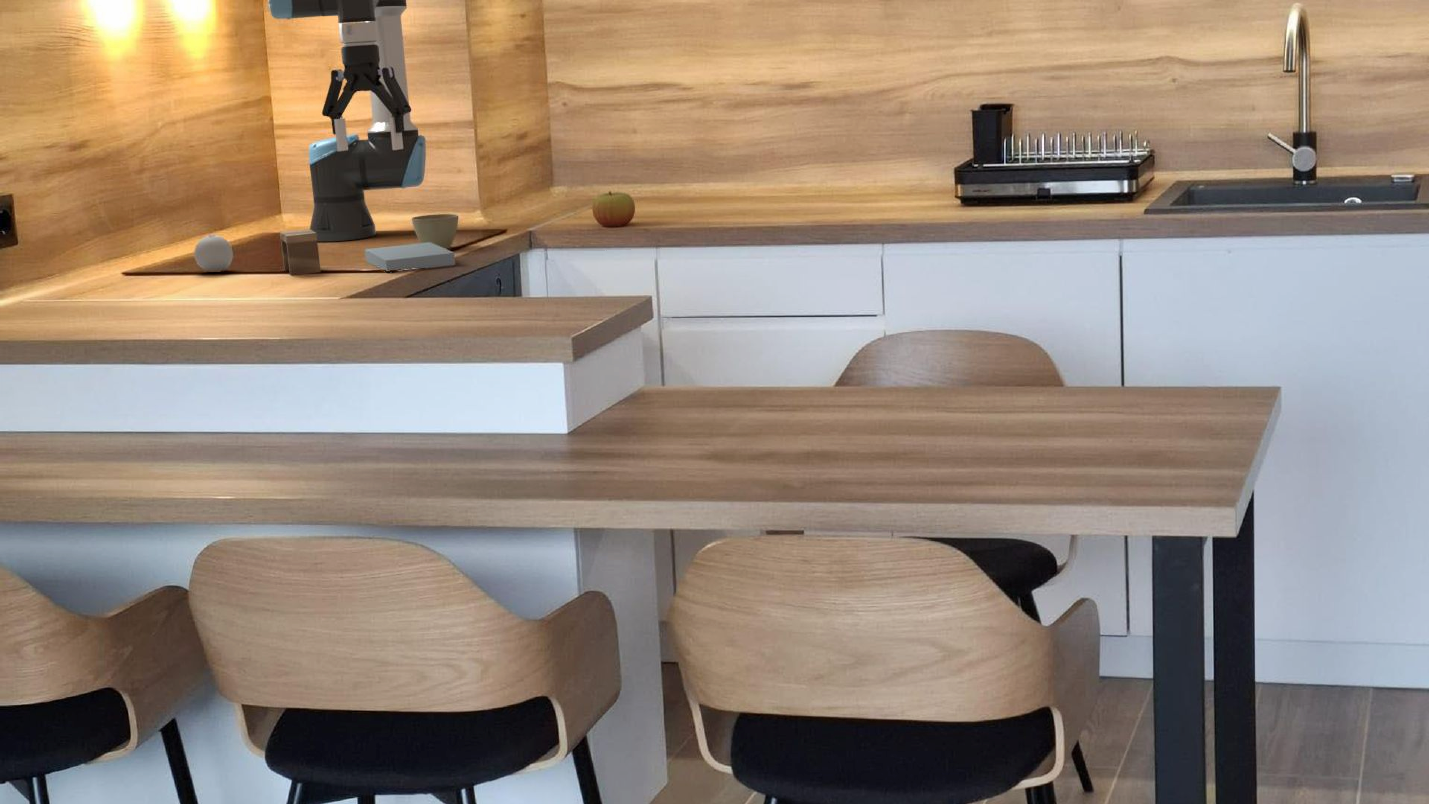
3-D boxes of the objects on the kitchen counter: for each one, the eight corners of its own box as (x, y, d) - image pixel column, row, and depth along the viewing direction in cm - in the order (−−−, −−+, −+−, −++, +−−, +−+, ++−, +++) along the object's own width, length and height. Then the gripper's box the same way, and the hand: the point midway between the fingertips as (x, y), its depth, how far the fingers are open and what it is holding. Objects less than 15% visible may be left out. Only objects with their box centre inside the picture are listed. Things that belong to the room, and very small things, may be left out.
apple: (586, 228, 396) (583, 193, 395) (604, 222, 405) (602, 188, 403) (625, 228, 393) (622, 193, 391) (643, 222, 401) (640, 187, 400)
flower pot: (452, 252, 371) (449, 218, 370) (407, 253, 373) (404, 220, 372) (467, 245, 381) (464, 212, 379) (424, 246, 383) (421, 214, 381)
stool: (284, 270, 359) (279, 232, 357) (313, 267, 361) (309, 228, 360) (290, 275, 352) (286, 236, 350) (320, 272, 354) (316, 232, 352)
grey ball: (201, 276, 358) (196, 237, 356) (193, 272, 364) (189, 234, 363) (238, 271, 361) (234, 233, 359) (230, 267, 368) (226, 230, 366)
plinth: (365, 261, 365) (364, 249, 365) (431, 253, 371) (430, 242, 370) (387, 272, 347) (385, 260, 347) (455, 264, 353) (454, 252, 352)
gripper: (297, 47, 354) (309, 152, 358) (400, 42, 343) (410, 150, 348) (320, 46, 360) (331, 149, 365) (421, 40, 350) (431, 146, 355)
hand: (370, 150), depth 357 cm, fingers open, 13 cm apart
